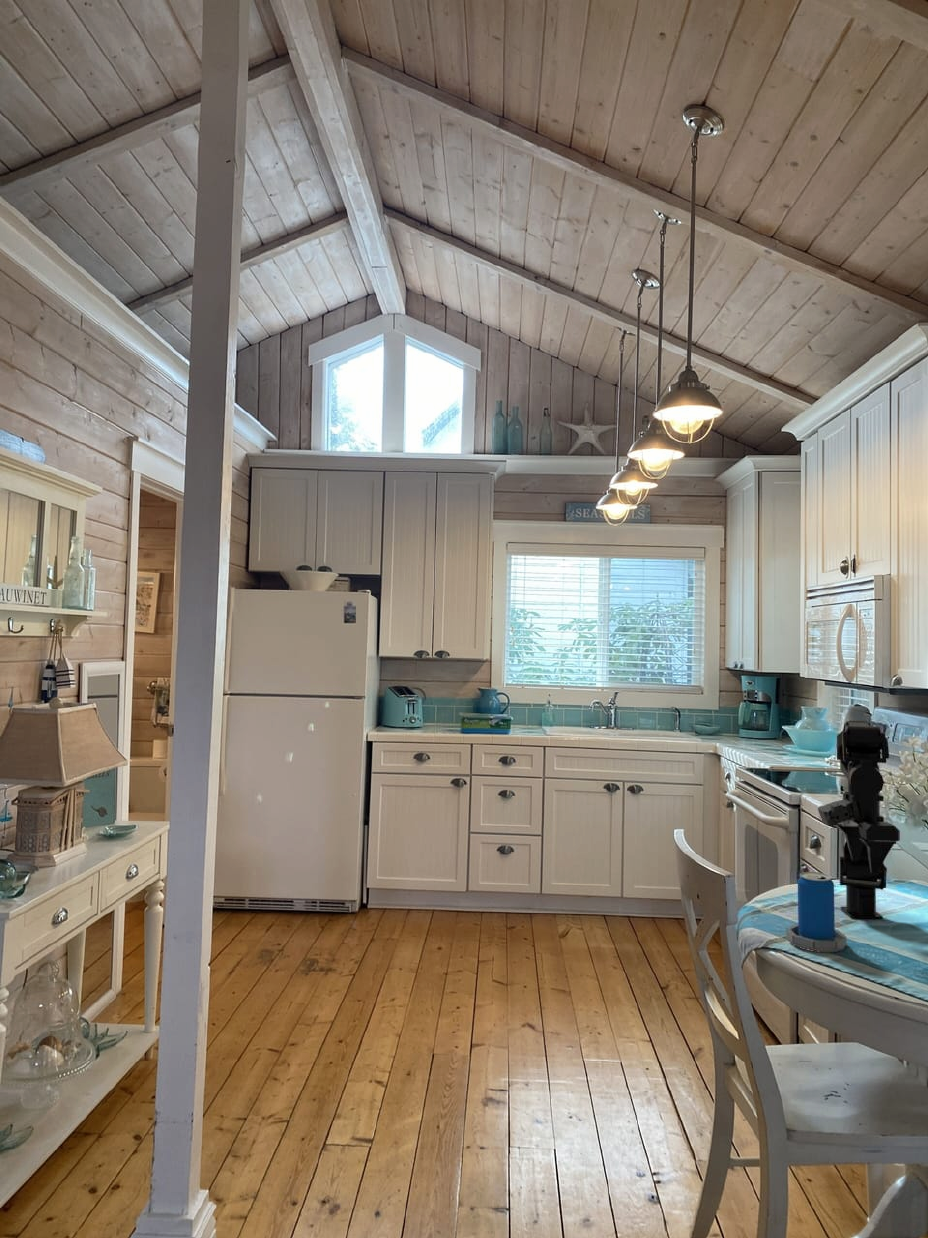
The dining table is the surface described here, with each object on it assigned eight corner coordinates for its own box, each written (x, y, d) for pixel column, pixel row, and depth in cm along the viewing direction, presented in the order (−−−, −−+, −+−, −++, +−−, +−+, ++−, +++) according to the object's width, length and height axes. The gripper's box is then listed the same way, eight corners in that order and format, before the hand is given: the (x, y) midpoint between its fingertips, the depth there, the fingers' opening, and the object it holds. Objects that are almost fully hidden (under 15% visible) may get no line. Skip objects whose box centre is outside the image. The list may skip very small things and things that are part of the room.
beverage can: (835, 946, 157) (834, 882, 157) (798, 942, 159) (797, 878, 160) (834, 935, 163) (833, 873, 163) (798, 931, 165) (797, 870, 166)
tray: (781, 933, 166) (781, 923, 166) (832, 935, 166) (832, 925, 166) (797, 952, 156) (797, 941, 156) (852, 953, 156) (852, 942, 156)
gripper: (806, 780, 178) (807, 855, 177) (840, 796, 159) (841, 879, 159) (860, 781, 177) (861, 856, 177) (900, 797, 159) (901, 880, 158)
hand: (864, 867), depth 167 cm, fingers open, 9 cm apart
